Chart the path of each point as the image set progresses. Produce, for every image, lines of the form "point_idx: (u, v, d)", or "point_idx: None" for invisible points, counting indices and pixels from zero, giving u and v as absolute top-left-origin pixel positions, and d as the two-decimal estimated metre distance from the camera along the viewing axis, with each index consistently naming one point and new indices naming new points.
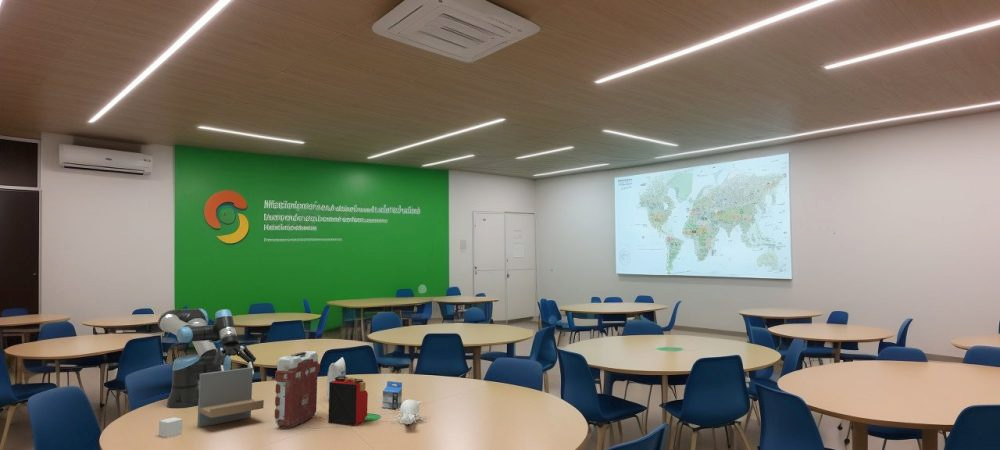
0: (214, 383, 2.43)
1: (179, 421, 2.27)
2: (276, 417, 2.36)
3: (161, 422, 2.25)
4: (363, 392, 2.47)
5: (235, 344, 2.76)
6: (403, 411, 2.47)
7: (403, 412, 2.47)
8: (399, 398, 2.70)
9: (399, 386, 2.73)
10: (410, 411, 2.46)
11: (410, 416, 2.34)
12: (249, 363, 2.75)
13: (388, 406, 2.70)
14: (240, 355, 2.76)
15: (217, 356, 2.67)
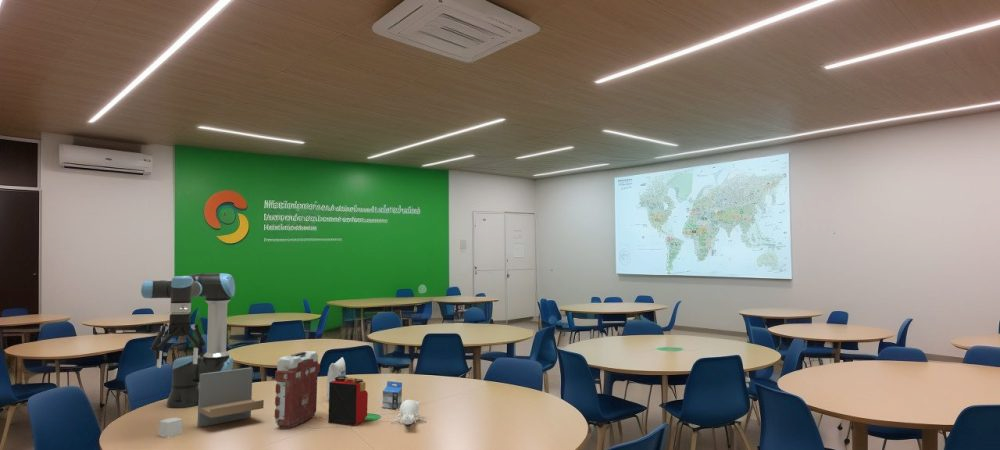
0: (214, 383, 2.43)
1: (179, 421, 2.27)
2: (276, 417, 2.36)
3: (161, 422, 2.25)
4: (363, 392, 2.47)
5: (185, 323, 2.32)
6: (403, 411, 2.46)
7: (403, 412, 2.46)
8: (399, 398, 2.70)
9: (399, 386, 2.73)
10: (410, 411, 2.46)
11: (410, 416, 2.33)
12: (195, 349, 2.35)
13: (388, 406, 2.70)
14: (188, 337, 2.33)
15: (159, 339, 2.24)
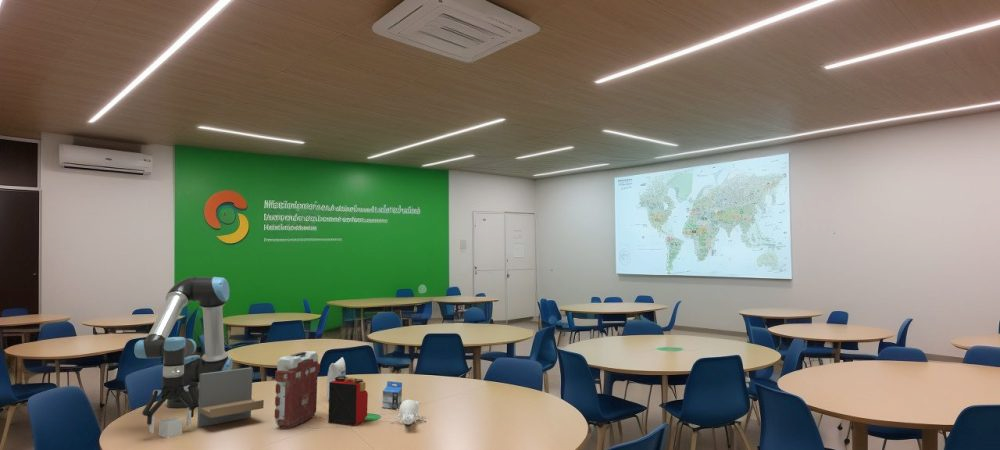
0: (214, 383, 2.43)
1: (179, 421, 2.27)
2: (276, 417, 2.36)
3: (161, 422, 2.25)
4: (363, 392, 2.47)
5: (178, 386, 2.28)
6: (403, 411, 2.46)
7: (403, 412, 2.46)
8: (399, 398, 2.70)
9: (399, 386, 2.73)
10: (410, 411, 2.46)
11: (410, 416, 2.33)
12: (189, 411, 2.31)
13: (388, 406, 2.70)
14: (181, 399, 2.30)
15: (151, 404, 2.21)
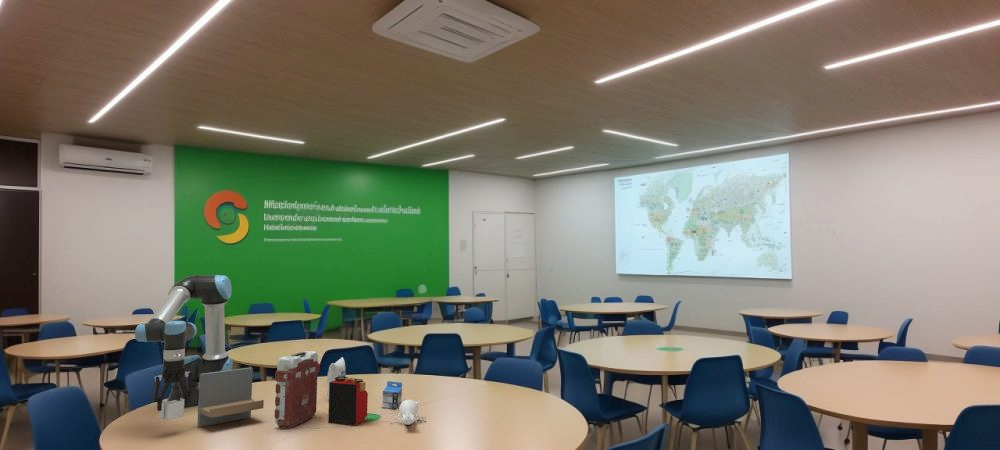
0: (214, 383, 2.43)
1: (180, 404, 2.28)
2: (276, 417, 2.36)
3: None
4: (363, 392, 2.47)
5: (181, 368, 2.30)
6: (402, 411, 2.46)
7: (402, 412, 2.46)
8: (399, 398, 2.70)
9: (399, 386, 2.73)
10: (410, 411, 2.46)
11: (411, 416, 2.33)
12: (182, 400, 2.30)
13: (388, 406, 2.70)
14: (178, 384, 2.30)
15: (157, 390, 2.23)
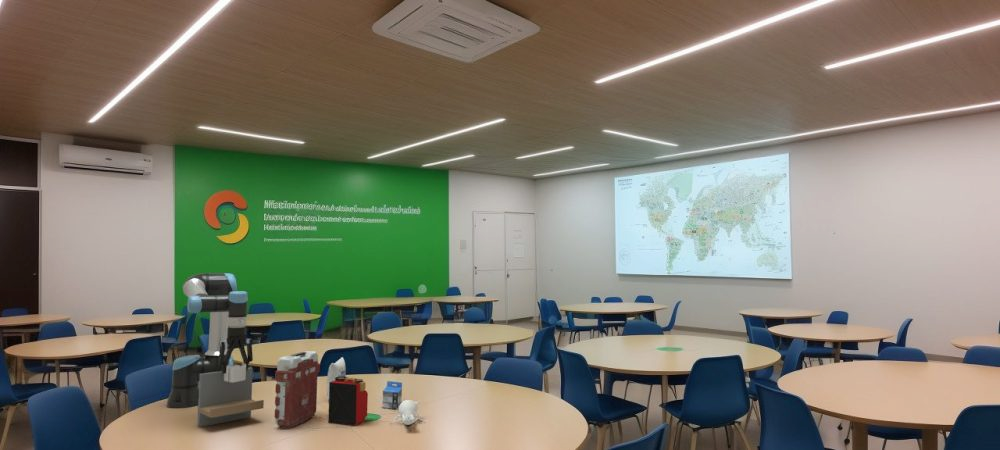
0: (214, 383, 2.43)
1: (243, 368, 2.45)
2: (276, 417, 2.36)
3: None
4: (363, 392, 2.47)
5: (243, 335, 2.47)
6: (402, 412, 2.46)
7: (402, 413, 2.46)
8: (399, 398, 2.70)
9: (399, 386, 2.73)
10: (409, 411, 2.45)
11: (411, 416, 2.33)
12: (243, 365, 2.47)
13: (388, 406, 2.70)
14: (240, 350, 2.47)
15: (222, 354, 2.40)
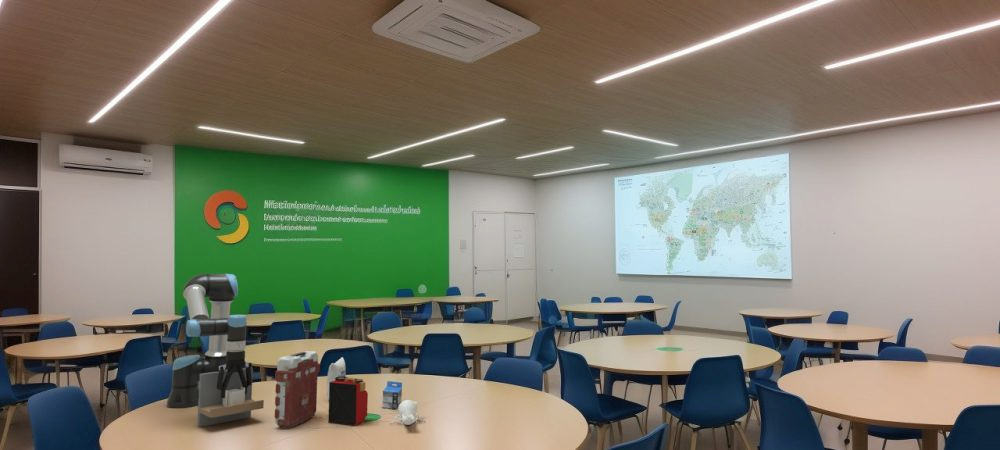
0: (214, 383, 2.43)
1: (242, 392, 2.44)
2: (276, 417, 2.36)
3: None
4: (363, 392, 2.47)
5: (242, 359, 2.46)
6: (402, 412, 2.46)
7: (402, 413, 2.46)
8: (399, 398, 2.70)
9: (399, 386, 2.73)
10: (409, 411, 2.45)
11: (412, 416, 2.33)
12: (242, 389, 2.46)
13: (388, 406, 2.70)
14: (239, 374, 2.46)
15: (221, 378, 2.39)
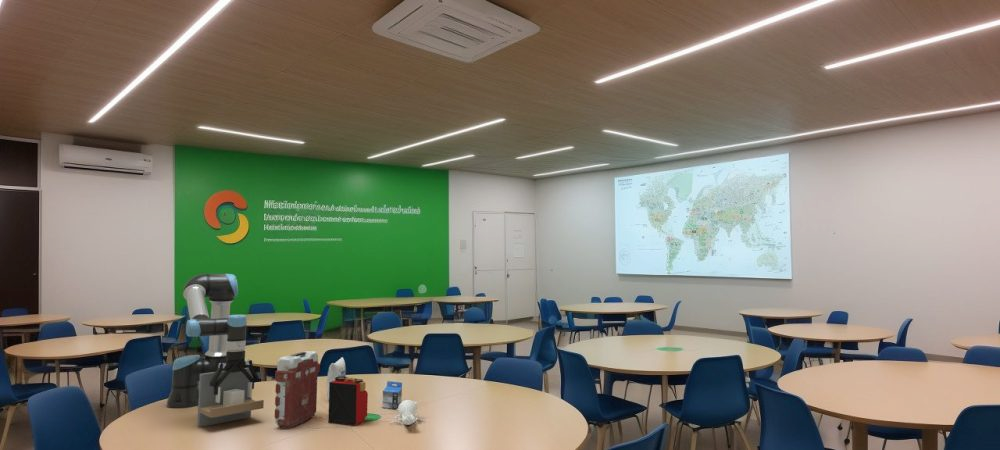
0: None
1: (242, 392, 2.44)
2: (276, 417, 2.36)
3: (225, 392, 2.42)
4: (363, 392, 2.47)
5: (241, 360, 2.46)
6: (402, 412, 2.46)
7: (402, 413, 2.46)
8: (399, 398, 2.70)
9: (399, 386, 2.73)
10: (409, 411, 2.45)
11: (412, 416, 2.33)
12: (250, 384, 2.48)
13: (388, 406, 2.70)
14: (243, 372, 2.47)
15: (217, 376, 2.38)
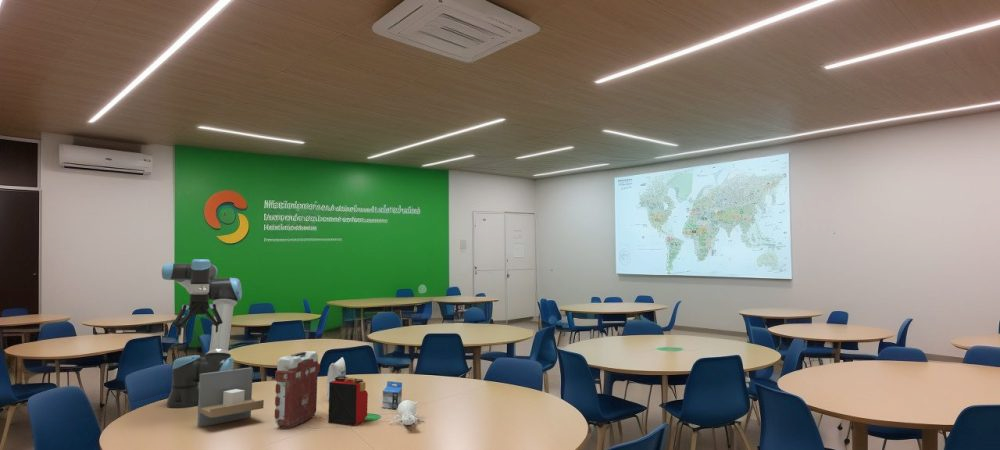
0: (214, 383, 2.43)
1: (242, 392, 2.44)
2: (276, 417, 2.36)
3: (225, 393, 2.42)
4: (363, 392, 2.47)
5: (204, 303, 2.51)
6: (401, 412, 2.45)
7: (401, 413, 2.45)
8: (399, 398, 2.70)
9: (399, 386, 2.73)
10: (409, 412, 2.45)
11: (412, 416, 2.33)
12: (213, 327, 2.54)
13: (388, 406, 2.70)
14: (206, 315, 2.53)
15: (180, 316, 2.44)
